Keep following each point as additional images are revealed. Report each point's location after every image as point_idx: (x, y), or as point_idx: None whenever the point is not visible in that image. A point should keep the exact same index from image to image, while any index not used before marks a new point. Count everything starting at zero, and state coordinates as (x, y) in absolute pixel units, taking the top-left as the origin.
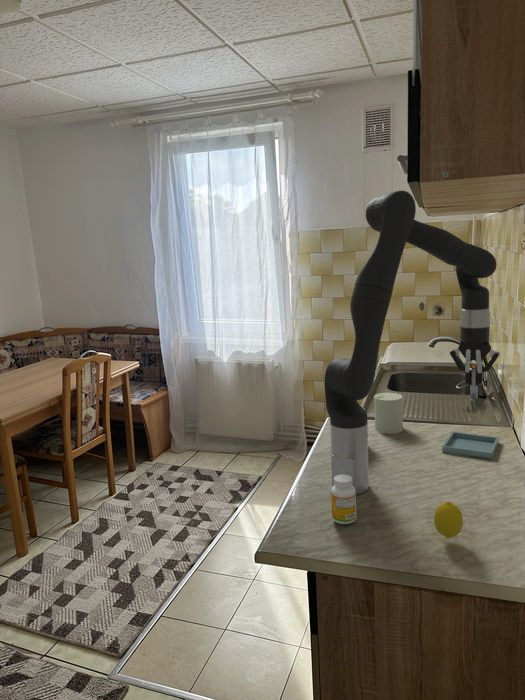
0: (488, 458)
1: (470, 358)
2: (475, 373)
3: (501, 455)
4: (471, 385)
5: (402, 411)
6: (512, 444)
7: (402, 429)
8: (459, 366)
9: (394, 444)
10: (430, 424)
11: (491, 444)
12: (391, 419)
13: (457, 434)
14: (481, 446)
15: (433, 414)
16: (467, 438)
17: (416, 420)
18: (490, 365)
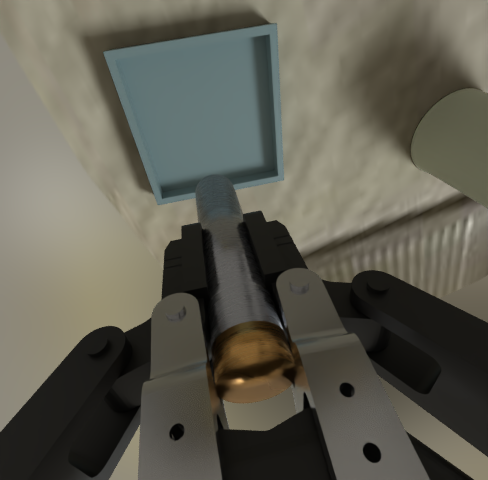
0: (118, 48)
1: (322, 444)
2: (218, 288)
3: (108, 114)
4: (235, 217)
5: (454, 173)
6: (129, 211)
7: (415, 145)
8: (398, 294)
9: (430, 10)
10: (348, 227)
11: (166, 173)
12: (481, 112)
13: (266, 176)
14: (182, 141)
15: (351, 281)
16: (237, 177)
17: (383, 233)
18: (33, 414)
